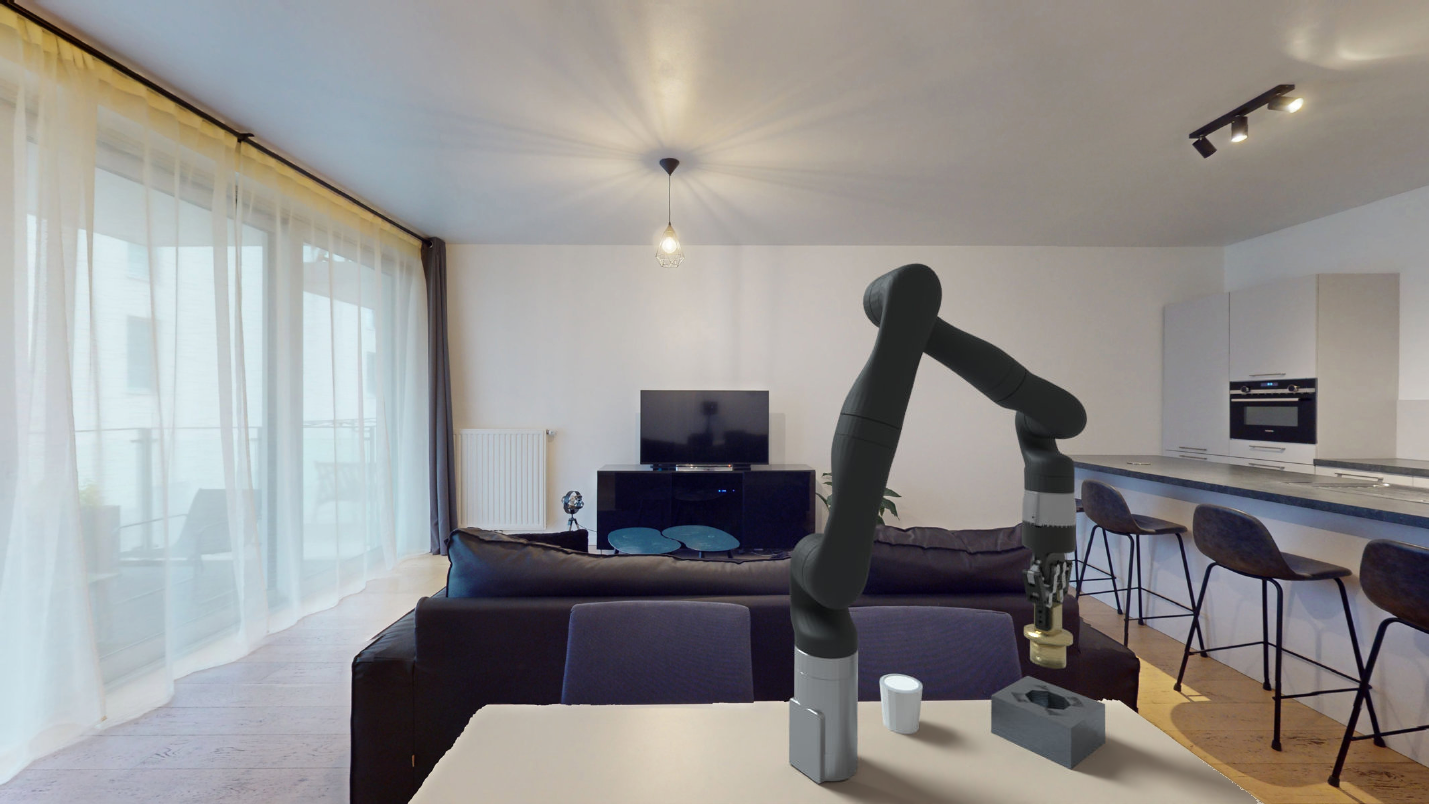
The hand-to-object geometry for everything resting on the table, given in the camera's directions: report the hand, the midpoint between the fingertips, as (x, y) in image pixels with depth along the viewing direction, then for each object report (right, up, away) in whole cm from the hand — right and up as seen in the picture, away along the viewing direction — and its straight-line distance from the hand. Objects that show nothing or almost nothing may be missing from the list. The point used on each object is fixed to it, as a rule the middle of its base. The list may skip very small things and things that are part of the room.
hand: (1047, 626), depth 94 cm
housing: (0, -18, 0) cm, 18 cm away
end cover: (0, -6, 0) cm, 6 cm away
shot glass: (-22, -18, +3) cm, 29 cm away
